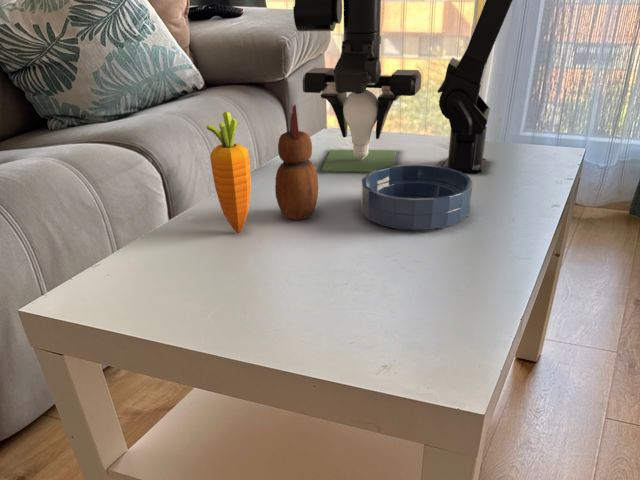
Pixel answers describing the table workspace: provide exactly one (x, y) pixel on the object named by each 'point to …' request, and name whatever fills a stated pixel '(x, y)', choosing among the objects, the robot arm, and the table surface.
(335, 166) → the napkin
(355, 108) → the lightbulb
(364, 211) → the bowl
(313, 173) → the wooden figurine
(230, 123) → the carrot
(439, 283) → the table surface
